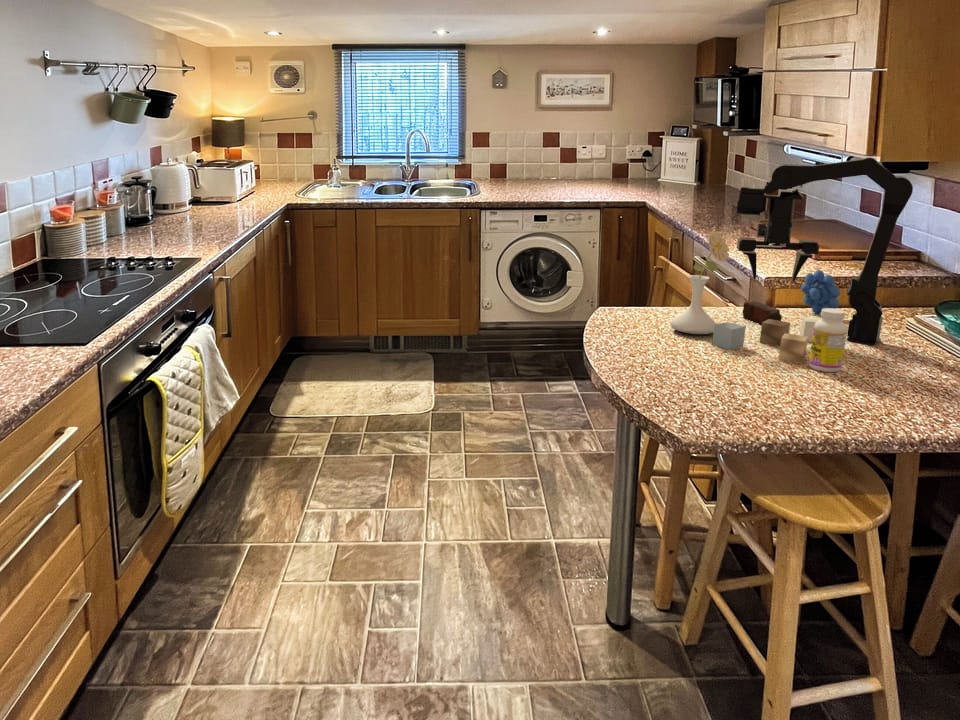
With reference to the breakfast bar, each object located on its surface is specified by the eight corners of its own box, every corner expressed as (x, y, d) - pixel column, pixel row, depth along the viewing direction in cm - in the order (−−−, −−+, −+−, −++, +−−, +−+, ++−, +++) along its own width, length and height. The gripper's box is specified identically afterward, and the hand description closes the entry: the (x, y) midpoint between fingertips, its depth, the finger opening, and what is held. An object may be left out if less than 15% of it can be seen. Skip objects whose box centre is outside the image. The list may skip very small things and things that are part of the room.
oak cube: (805, 358, 198) (808, 336, 196) (801, 363, 194) (805, 341, 192) (782, 354, 200) (785, 333, 199) (778, 359, 196) (781, 337, 194)
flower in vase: (688, 339, 209) (699, 234, 202) (660, 328, 219) (670, 227, 212) (732, 335, 215) (744, 233, 208) (702, 324, 225) (713, 226, 217)
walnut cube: (787, 342, 210) (790, 322, 209) (780, 346, 206) (783, 326, 205) (766, 339, 213) (769, 319, 212) (759, 342, 209) (762, 322, 208)
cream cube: (821, 338, 216) (824, 318, 215) (824, 343, 211) (827, 323, 210) (799, 336, 217) (802, 316, 216) (802, 341, 212) (805, 321, 211)
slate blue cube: (743, 347, 205) (745, 326, 204) (729, 350, 202) (732, 329, 201) (725, 342, 209) (727, 321, 207) (712, 345, 206) (714, 324, 204)
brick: (741, 318, 233) (743, 301, 232) (753, 317, 235) (755, 300, 234) (768, 328, 224) (770, 310, 223) (780, 327, 226) (783, 309, 224)
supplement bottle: (803, 363, 193) (812, 306, 190) (834, 364, 193) (843, 307, 189) (814, 372, 187) (822, 313, 183) (845, 373, 187) (855, 314, 183)
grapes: (789, 311, 243) (795, 268, 240) (803, 308, 247) (809, 266, 244) (827, 320, 235) (834, 276, 231) (841, 317, 239) (848, 273, 235)
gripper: (814, 214, 221) (807, 276, 225) (737, 212, 224) (731, 272, 228) (823, 220, 210) (815, 284, 215) (742, 217, 213) (736, 280, 218)
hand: (773, 280), depth 219 cm, fingers open, 9 cm apart
